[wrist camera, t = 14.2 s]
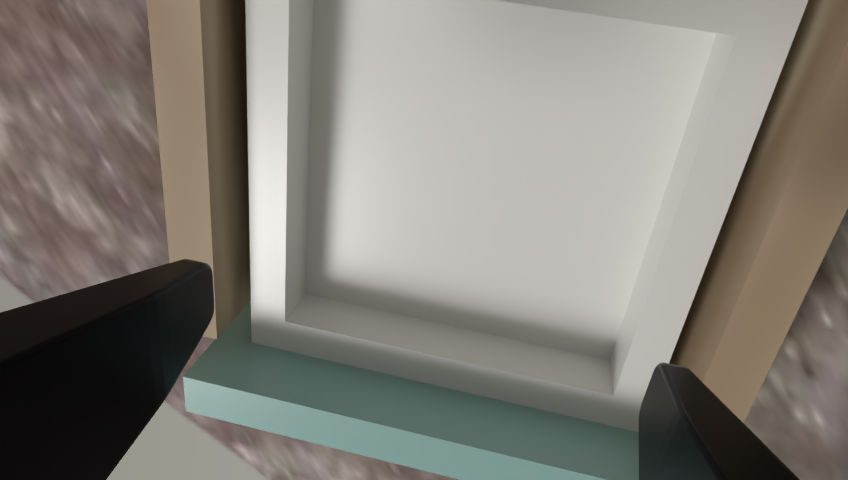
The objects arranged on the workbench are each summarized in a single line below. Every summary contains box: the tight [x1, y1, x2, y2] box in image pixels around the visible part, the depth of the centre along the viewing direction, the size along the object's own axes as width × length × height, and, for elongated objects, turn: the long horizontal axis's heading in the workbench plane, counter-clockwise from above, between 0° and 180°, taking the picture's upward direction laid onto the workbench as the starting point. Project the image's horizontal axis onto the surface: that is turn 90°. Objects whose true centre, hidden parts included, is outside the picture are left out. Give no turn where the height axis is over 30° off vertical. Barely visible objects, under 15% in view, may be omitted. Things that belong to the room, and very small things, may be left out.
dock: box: [146, 0, 848, 423], centre depth 14 cm, size 14×12×4 cm
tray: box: [183, 0, 808, 480], centre depth 15 cm, size 13×12×4 cm
